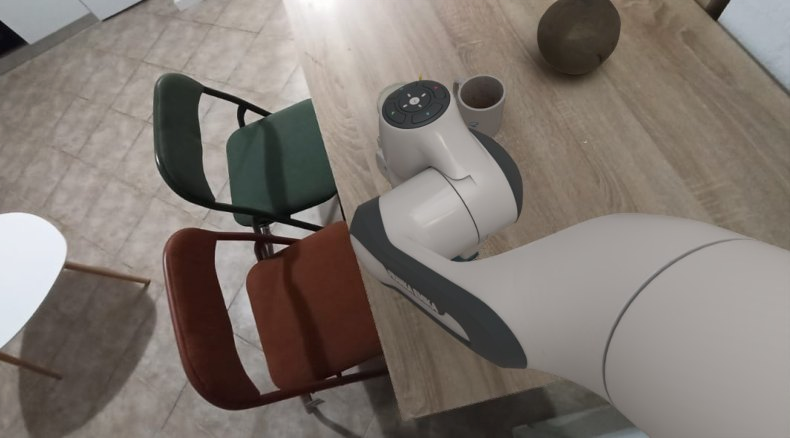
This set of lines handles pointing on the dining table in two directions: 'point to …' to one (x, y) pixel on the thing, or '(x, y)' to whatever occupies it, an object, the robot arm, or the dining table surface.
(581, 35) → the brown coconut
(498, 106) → the mug
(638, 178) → the dining table surface
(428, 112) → the robot arm
